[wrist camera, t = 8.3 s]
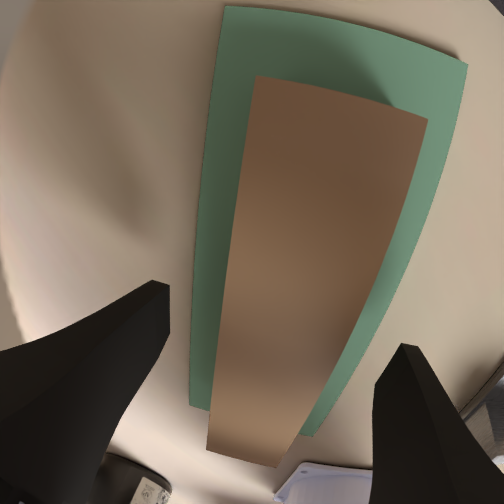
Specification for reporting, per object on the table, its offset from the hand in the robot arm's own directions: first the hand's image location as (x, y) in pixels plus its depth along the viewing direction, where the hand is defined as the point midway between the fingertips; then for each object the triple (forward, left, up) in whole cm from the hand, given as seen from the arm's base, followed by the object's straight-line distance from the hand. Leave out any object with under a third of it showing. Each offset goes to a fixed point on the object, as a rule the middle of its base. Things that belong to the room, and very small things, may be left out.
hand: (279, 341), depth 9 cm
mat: (0, 0, -3) cm, 3 cm away
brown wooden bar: (0, 0, -2) cm, 2 cm away
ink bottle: (-30, +10, -3) cm, 32 cm away
